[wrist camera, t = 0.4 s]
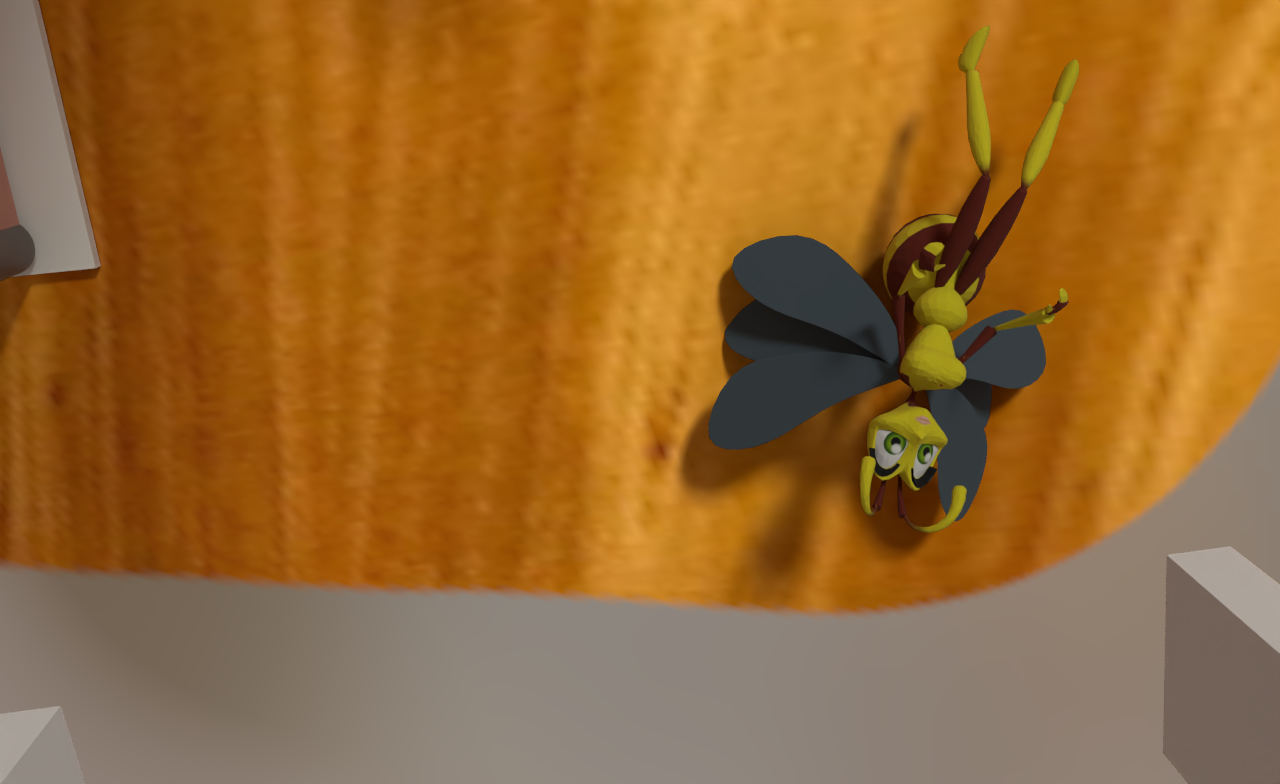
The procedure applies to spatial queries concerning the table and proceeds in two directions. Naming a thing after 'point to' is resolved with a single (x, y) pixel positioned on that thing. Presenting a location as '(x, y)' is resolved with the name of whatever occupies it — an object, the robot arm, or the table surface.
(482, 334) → the table surface
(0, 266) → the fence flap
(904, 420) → the toy
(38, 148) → the card
